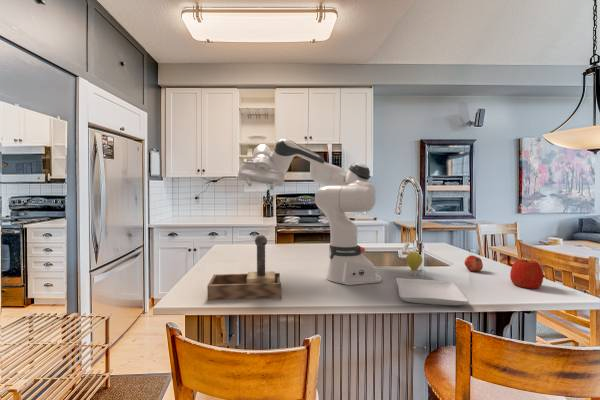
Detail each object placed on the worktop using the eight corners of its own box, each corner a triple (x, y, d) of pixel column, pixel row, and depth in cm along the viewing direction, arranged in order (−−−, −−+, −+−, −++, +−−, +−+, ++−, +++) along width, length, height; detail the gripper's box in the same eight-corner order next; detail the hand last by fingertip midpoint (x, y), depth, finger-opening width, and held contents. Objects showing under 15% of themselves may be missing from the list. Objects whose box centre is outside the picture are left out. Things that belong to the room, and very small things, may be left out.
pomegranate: (461, 274, 155) (469, 265, 147) (460, 259, 159) (467, 250, 151) (478, 276, 154) (487, 268, 146) (477, 262, 158) (485, 253, 150)
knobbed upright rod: (274, 284, 127) (274, 233, 126) (275, 292, 118) (275, 236, 117) (248, 285, 126) (247, 233, 125) (246, 292, 117) (246, 237, 116)
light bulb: (406, 276, 143) (406, 253, 143) (405, 272, 150) (405, 250, 149) (422, 277, 142) (423, 254, 141) (421, 273, 148) (421, 251, 148)
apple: (541, 284, 132) (542, 258, 132) (544, 292, 123) (546, 263, 122) (509, 280, 138) (510, 254, 137) (510, 287, 128) (511, 260, 128)
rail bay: (279, 285, 130) (279, 272, 130) (280, 297, 116) (280, 283, 116) (214, 287, 128) (214, 274, 127) (207, 300, 114) (207, 285, 113)
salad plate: (469, 310, 106) (469, 300, 105) (399, 305, 110) (399, 295, 110) (453, 290, 126) (453, 281, 126) (394, 286, 131) (395, 277, 130)
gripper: (282, 177, 155) (283, 196, 145) (238, 170, 151) (235, 189, 141) (285, 166, 152) (286, 185, 141) (240, 158, 147) (238, 177, 137)
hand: (260, 187), depth 141 cm, fingers open, 8 cm apart
